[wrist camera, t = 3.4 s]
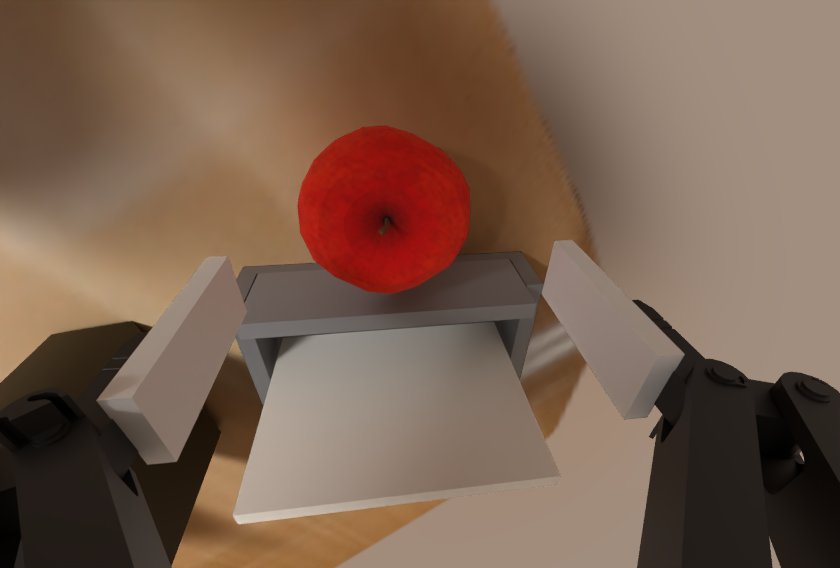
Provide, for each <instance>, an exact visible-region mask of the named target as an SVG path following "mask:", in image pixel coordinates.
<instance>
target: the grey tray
mask: <svg viewBox="0 0 840 568" xmlns="http://www.w3.org/2000/svg"><path fill="white" fill-rule="evenodd" d="M236 281H237V284H238V287H239V290H240V292H241V295H242V298H243V301H244V304H245V307H246V310H247V313H246V315H245V317H244V319H243V322H242V324H241V326H240V328H239V330H238V332H237V334H236V340H237V342H238V345H239V347H240V350H241V352H242V355H243V357H244V360H245V362H246V365H247V367H248V370H249V372H250V375H251V377H252V380H253V382H254V385H255V387H256V390H257V392H258V395H259V397H260V400H261V402H262V405H263V406H264V403H265V399H266V396H267V392H268V389H269V385H270V382H271V378H272V374H273V371H274V367H275V364H276V360H277V357H278V353H279V350H280V346H281V343H282V339H283V337H296V336H310V335H323V334H336V333H350V332H363V331H376V330H389V329H403V328H416V327H429V326H443V325H456V324H469V323H482V322H494V323H495V325H496V328H497V330H498V332H499V335H500V337H501V339H502V341H503V344H504V346H505V348H506V351H507V353H508V355H509V358H510V360H511V362H512V365H513V367H514V369H515V371H516V374H517V376H518V378H519V381H520V377H521V373H522V369H523V365H524V361H525V357H526V353H527V349H528V345H529V341H530V337H531V333H532V329H533V325H534V321H535V317H536V313H537V309H538V305H539V301H540V297H541V293H542V289H543V285H544V284H543V282H542V281H541V280H540V278H539V277H538V275H537V274H536V272H535V271H534V270H533V268H532V267H531V265H530V264H529V262H528V261H527V259H526V258H525V257H524V255H523V254H522V252H521V251H520V252H502V253H484V254H467V255H457V256H456V257H455V259H454V260H453V262H452V263H451V265H450V266H449V267H447V268H445V269H444V270H442V271H440V272H439V273H437V274H436V275H434V276H432V277H431V278H429V279H428V280H426V281H424V282H423V283H421V284H420V285H418V286H416V287H413V288H409V289H406V290H403V291H400V292H396V293H393V294H390V293H374V292H367V291H365V290H363V289H361V288H358V287H356V286H354V285H352V284H350V283H347V282H345V281H343V280H341V279H338V278H336V277H334V276H333V275H331V274H330V273H329V272H328V271H327V270H325V269H324V268H323V267H322V266H321V265H319V264H318V263H305V264H287V265H269V266H252V267H243V268H242V270H241V272H240V274H239V276H238V278H237V279H236Z"/></svg>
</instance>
